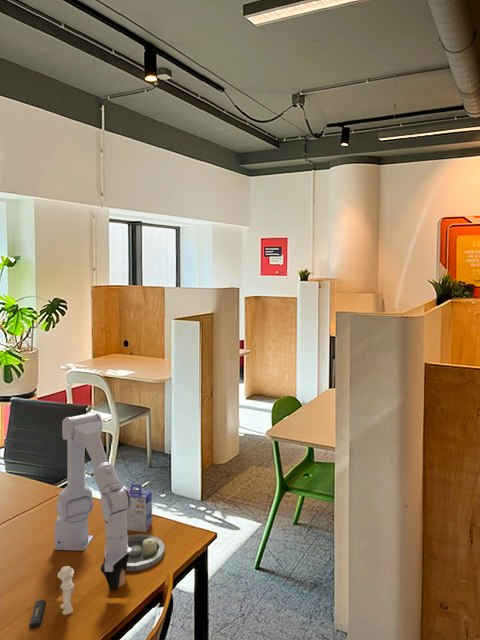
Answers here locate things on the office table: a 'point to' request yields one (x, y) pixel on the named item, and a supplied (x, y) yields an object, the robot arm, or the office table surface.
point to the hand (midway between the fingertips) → (117, 581)
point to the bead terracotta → (122, 578)
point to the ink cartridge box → (139, 510)
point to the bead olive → (149, 547)
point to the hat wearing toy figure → (66, 588)
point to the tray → (136, 556)
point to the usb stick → (37, 614)
